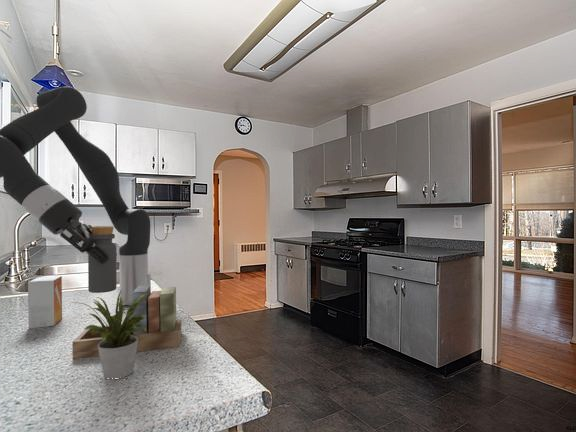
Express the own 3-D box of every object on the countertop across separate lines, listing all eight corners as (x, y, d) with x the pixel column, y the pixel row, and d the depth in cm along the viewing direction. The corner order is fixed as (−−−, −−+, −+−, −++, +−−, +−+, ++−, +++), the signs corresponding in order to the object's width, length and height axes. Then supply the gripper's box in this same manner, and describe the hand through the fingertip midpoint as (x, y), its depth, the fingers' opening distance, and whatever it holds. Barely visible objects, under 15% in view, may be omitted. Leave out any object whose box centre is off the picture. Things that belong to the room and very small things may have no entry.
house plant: (59, 403, 56) (57, 304, 56) (74, 368, 68) (73, 288, 68) (152, 384, 61) (151, 294, 61) (150, 355, 74) (149, 281, 74)
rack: (72, 358, 73) (71, 297, 73) (87, 341, 83) (86, 288, 83) (179, 346, 79) (178, 290, 79) (181, 332, 88) (180, 282, 88)
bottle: (87, 294, 76) (87, 227, 75) (89, 288, 81) (89, 226, 81) (116, 291, 78) (116, 227, 78) (116, 286, 84) (116, 225, 83)
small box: (54, 326, 95) (54, 280, 95) (27, 328, 93) (27, 281, 93) (63, 317, 103) (62, 275, 103) (38, 320, 101) (37, 277, 101)
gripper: (51, 196, 71) (114, 250, 73) (77, 199, 85) (129, 245, 87) (22, 221, 69) (87, 276, 72) (53, 220, 83) (107, 266, 86)
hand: (110, 259), depth 80 cm, fingers closed on bottle, 6 cm apart
